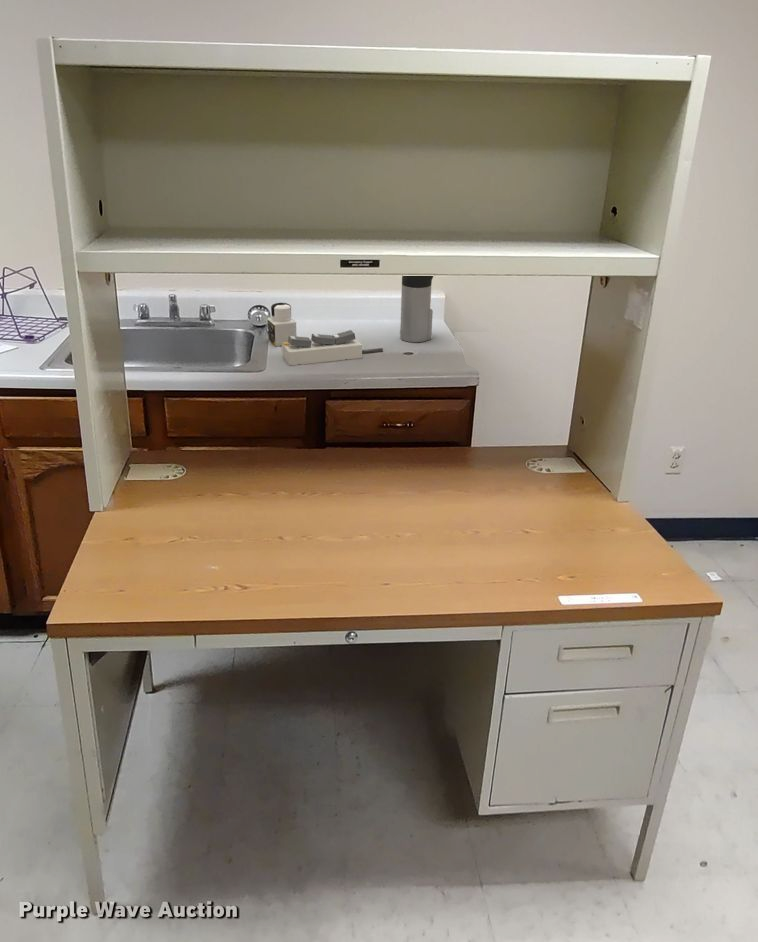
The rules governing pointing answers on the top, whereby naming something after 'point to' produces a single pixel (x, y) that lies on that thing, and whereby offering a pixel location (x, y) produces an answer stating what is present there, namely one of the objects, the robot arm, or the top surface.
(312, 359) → the power strip
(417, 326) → the robot arm
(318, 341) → the rocker middle
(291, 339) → the rocker
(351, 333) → the rocker
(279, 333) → the medicine bottle
